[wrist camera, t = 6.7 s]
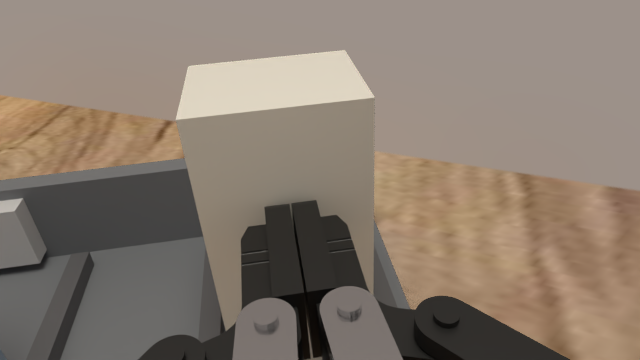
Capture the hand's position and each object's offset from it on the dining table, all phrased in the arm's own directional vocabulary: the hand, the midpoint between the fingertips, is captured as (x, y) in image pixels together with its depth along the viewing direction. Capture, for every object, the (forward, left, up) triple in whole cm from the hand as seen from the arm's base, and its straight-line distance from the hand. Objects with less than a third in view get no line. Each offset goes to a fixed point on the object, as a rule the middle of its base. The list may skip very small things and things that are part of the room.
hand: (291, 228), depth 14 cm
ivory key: (0, -2, -6) cm, 7 cm away
